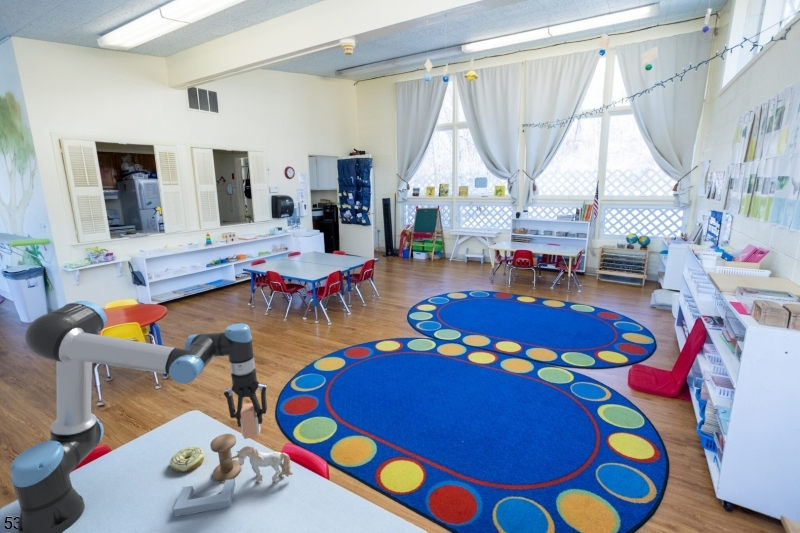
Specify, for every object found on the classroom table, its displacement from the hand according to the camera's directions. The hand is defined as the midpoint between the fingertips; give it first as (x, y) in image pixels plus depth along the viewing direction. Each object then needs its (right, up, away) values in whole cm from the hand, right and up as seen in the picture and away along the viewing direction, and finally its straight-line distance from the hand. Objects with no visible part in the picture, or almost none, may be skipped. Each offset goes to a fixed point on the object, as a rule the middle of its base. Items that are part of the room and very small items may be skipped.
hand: (251, 432), depth 134 cm
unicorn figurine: (+5, -17, -3) cm, 18 cm away
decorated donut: (-26, -15, +8) cm, 31 cm away
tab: (0, 0, 0) cm, 0 cm away
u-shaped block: (-11, -18, -8) cm, 23 cm away
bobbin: (-10, -15, +3) cm, 18 cm away
